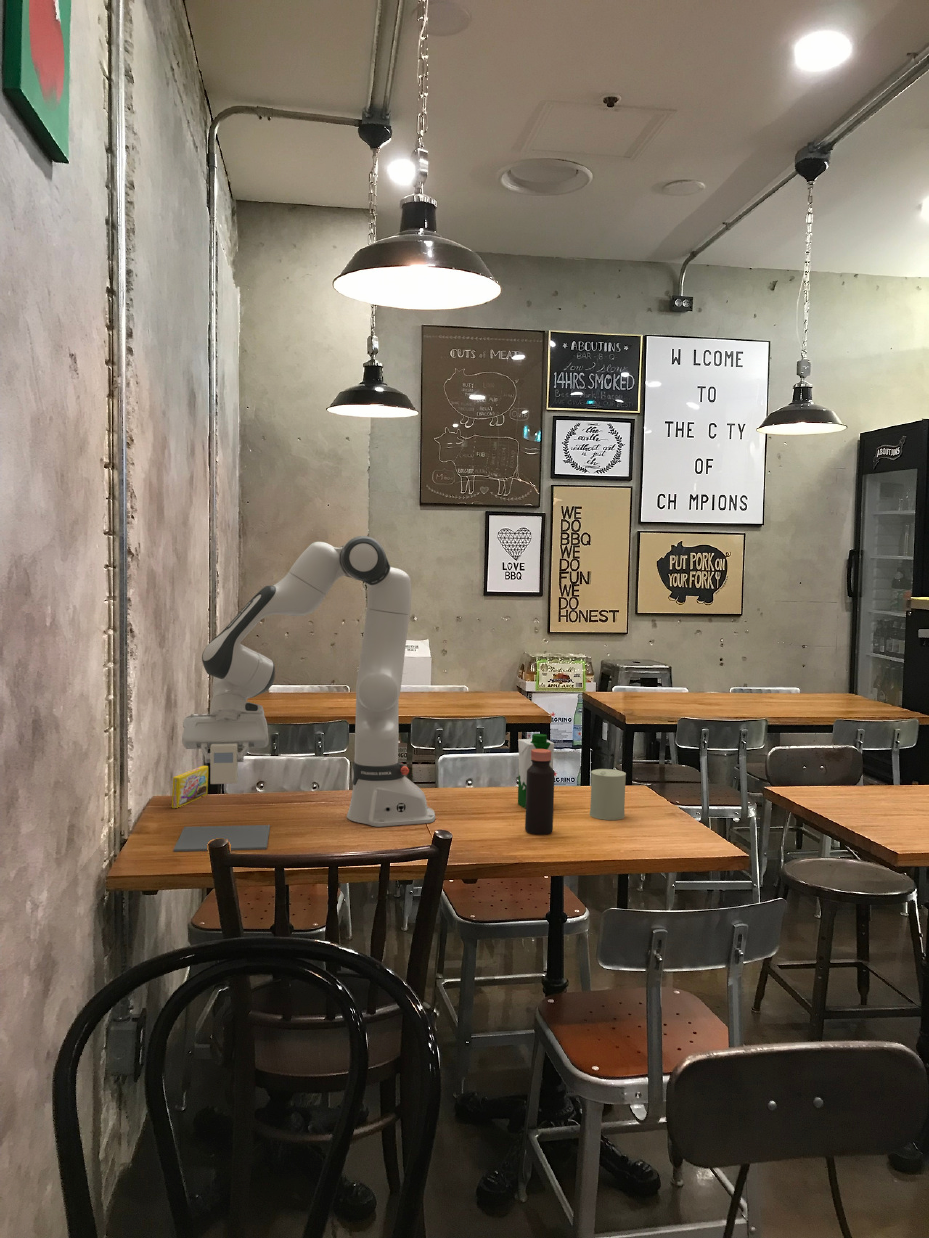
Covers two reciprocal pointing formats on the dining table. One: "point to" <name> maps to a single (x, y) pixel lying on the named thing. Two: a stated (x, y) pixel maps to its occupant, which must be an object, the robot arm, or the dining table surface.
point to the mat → (236, 835)
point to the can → (607, 794)
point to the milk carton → (525, 760)
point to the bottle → (539, 794)
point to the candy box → (189, 786)
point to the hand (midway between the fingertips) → (224, 761)
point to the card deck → (223, 763)
